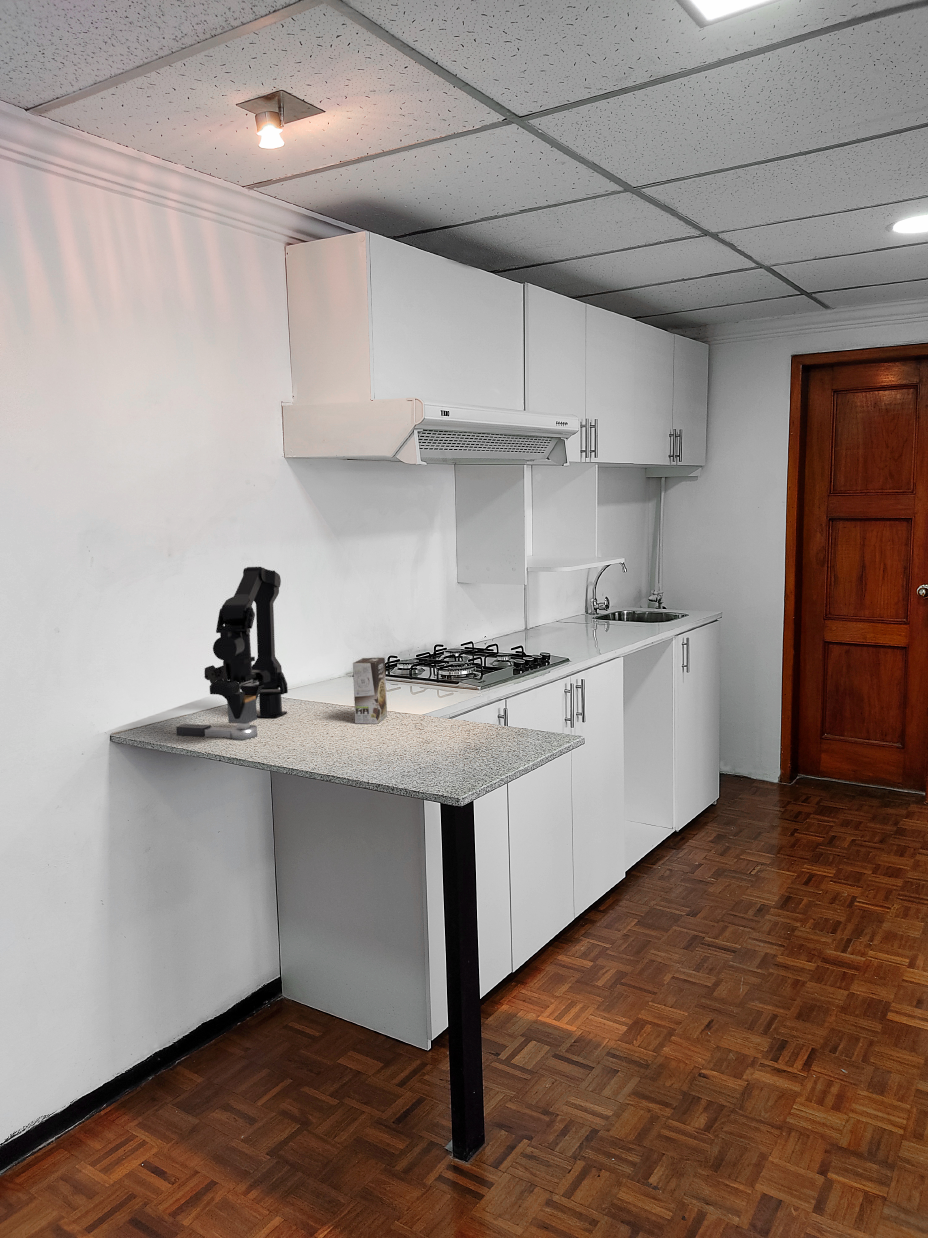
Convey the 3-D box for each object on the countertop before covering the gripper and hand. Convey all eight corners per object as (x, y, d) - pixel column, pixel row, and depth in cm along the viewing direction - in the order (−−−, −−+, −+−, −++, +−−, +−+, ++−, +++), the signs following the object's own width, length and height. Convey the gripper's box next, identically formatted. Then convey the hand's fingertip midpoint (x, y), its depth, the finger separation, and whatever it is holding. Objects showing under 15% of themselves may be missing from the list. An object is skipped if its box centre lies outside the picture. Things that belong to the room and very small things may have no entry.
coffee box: (378, 724, 239) (375, 662, 237) (354, 724, 240) (351, 662, 239) (388, 716, 248) (385, 656, 246) (365, 716, 249) (362, 657, 247)
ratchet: (188, 730, 239) (186, 710, 238) (262, 734, 232) (260, 713, 231) (173, 736, 233) (171, 715, 232) (248, 741, 226) (247, 719, 225)
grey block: (239, 718, 232) (238, 694, 232) (257, 719, 231) (255, 695, 230) (228, 722, 228) (227, 698, 227) (246, 723, 226) (244, 699, 225)
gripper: (231, 647, 239) (235, 707, 241) (188, 659, 221) (192, 723, 223) (269, 648, 235) (273, 708, 237) (228, 660, 218) (232, 725, 219)
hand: (242, 716), depth 229 cm, fingers closed on grey block, 5 cm apart
